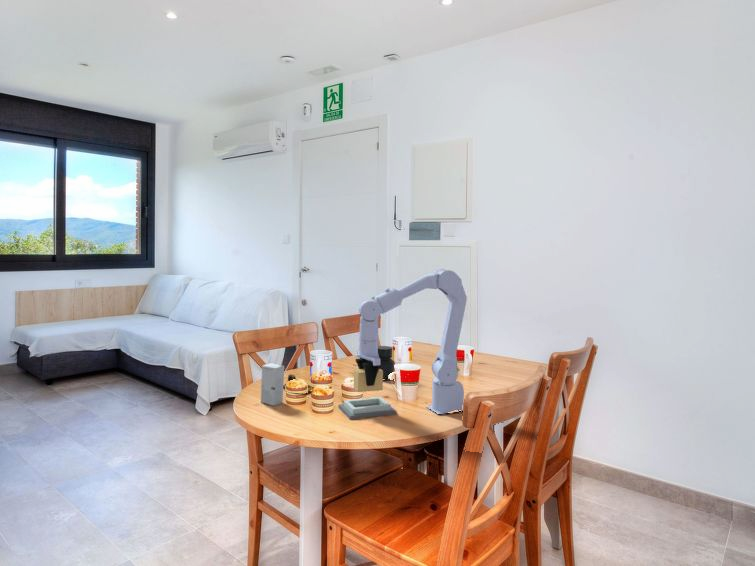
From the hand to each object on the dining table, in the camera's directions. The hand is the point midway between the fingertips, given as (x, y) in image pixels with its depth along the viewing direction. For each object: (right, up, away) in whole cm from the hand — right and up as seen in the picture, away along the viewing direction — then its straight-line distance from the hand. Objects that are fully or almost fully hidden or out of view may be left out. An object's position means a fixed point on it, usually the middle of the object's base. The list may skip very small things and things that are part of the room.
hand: (367, 383), depth 147 cm
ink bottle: (+5, -6, +40) cm, 40 cm away
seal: (-25, -7, +22) cm, 34 cm away
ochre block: (0, -2, 0) cm, 2 cm away
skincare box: (-31, -8, +6) cm, 32 cm away
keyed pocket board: (0, -9, +1) cm, 9 cm away
